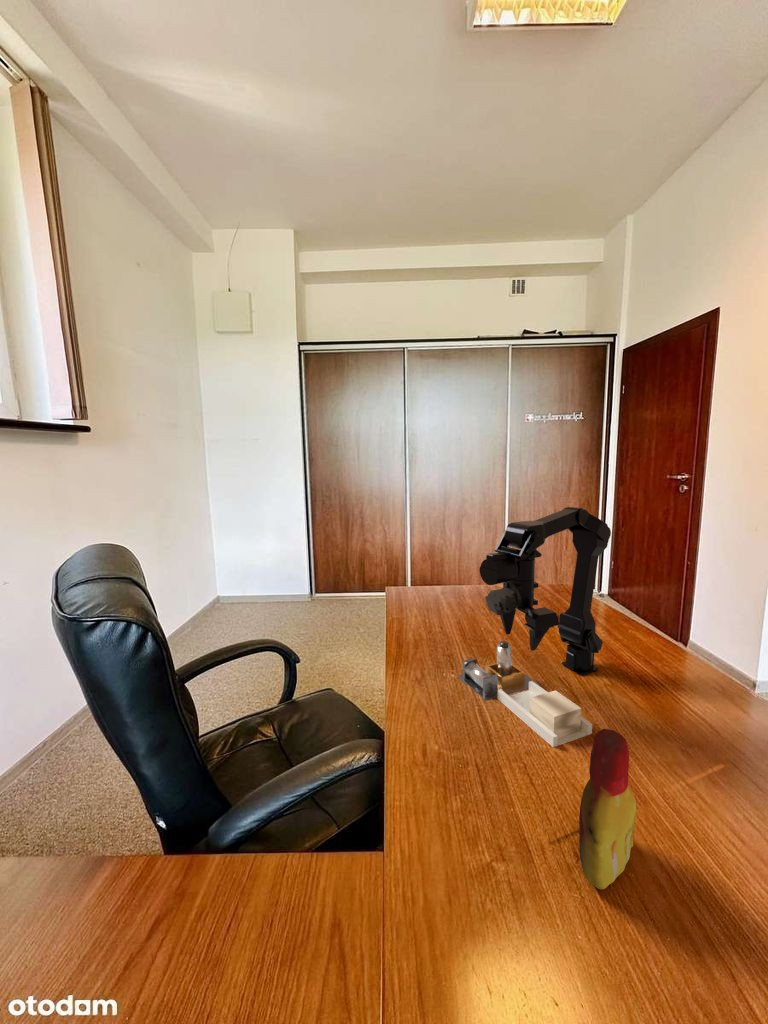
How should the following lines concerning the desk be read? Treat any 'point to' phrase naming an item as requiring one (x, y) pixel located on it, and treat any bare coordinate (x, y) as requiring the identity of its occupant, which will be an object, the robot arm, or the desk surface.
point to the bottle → (606, 811)
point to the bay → (535, 723)
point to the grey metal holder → (493, 679)
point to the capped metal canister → (504, 658)
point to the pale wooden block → (556, 713)
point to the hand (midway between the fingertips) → (519, 641)
